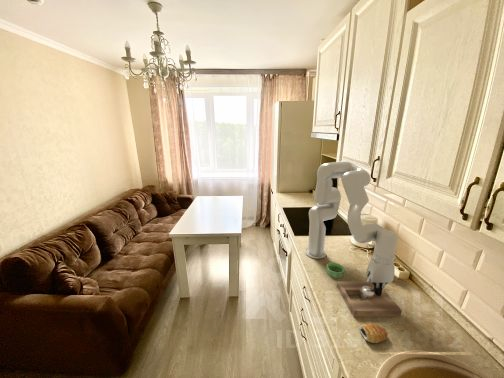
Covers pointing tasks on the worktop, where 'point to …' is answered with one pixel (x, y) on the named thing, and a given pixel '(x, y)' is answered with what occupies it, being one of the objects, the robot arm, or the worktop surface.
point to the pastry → (373, 333)
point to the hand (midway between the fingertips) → (377, 293)
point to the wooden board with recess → (367, 301)
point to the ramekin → (336, 267)
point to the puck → (367, 292)
